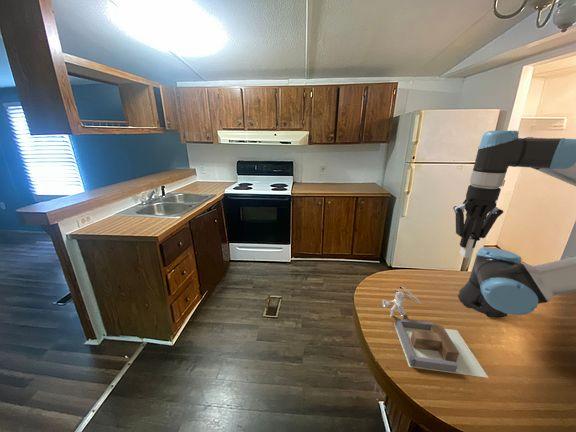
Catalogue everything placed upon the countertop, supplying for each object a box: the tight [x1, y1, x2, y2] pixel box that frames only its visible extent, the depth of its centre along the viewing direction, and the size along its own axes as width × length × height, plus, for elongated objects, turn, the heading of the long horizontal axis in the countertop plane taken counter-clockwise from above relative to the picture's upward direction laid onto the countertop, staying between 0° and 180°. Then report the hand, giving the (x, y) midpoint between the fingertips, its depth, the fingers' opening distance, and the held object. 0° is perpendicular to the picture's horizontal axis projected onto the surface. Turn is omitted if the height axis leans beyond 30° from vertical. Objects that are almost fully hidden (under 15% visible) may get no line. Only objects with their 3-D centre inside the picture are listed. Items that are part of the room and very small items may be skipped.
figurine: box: [381, 291, 407, 317], centre depth 80 cm, size 5×9×12 cm, turn 109°
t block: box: [411, 323, 459, 362], centre depth 70 cm, size 10×10×4 cm
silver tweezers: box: [394, 286, 423, 304], centre depth 91 cm, size 17×5×2 cm, turn 27°
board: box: [393, 318, 489, 379], centre depth 70 cm, size 20×16×3 cm
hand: (464, 255), depth 76 cm, fingers closed
